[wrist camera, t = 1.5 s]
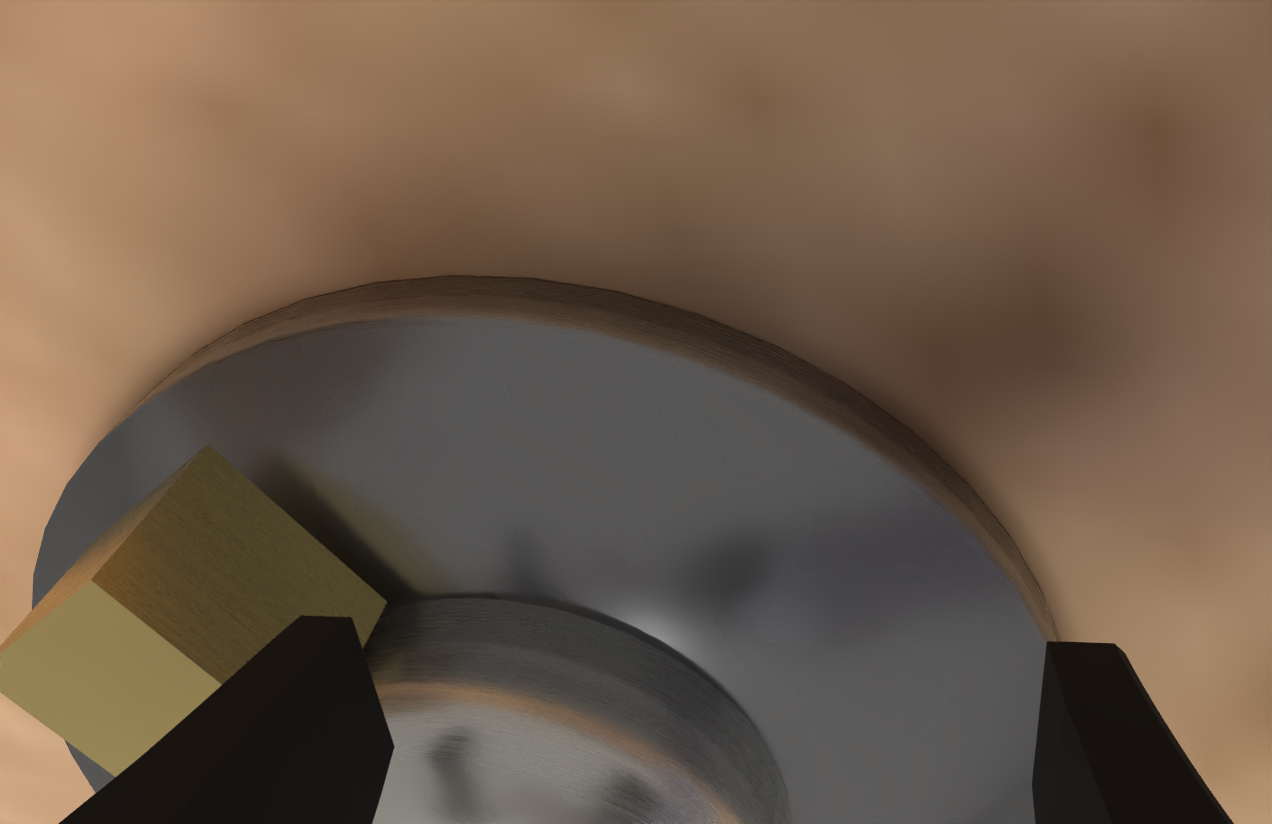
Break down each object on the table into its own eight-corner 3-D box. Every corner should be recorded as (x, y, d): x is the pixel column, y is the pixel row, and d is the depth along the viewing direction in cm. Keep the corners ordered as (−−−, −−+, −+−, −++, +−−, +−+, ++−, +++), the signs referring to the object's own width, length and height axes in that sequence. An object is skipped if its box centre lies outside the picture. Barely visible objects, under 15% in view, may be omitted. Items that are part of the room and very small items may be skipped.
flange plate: (392, 3, 14) (339, 40, 13) (1317, 765, 18) (1354, 857, 17) (-44, 687, 23) (-102, 751, 22) (631, 1087, 28) (617, 1164, 26)
